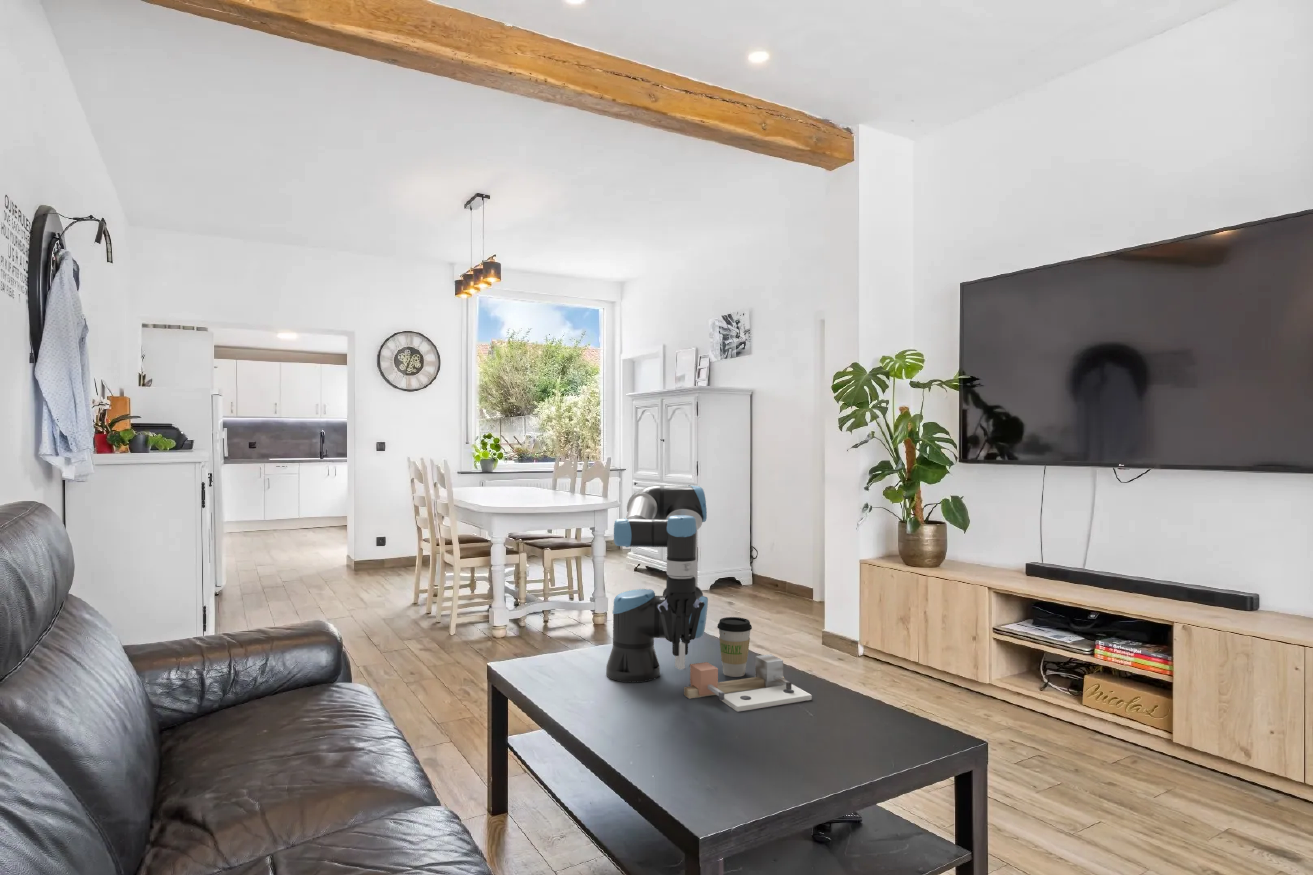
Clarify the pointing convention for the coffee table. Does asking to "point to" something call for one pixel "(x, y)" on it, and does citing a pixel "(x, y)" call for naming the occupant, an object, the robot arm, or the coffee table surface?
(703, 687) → the sliding leg
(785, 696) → the hole plate
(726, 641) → the coffee cup
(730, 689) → the rail
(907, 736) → the coffee table surface
